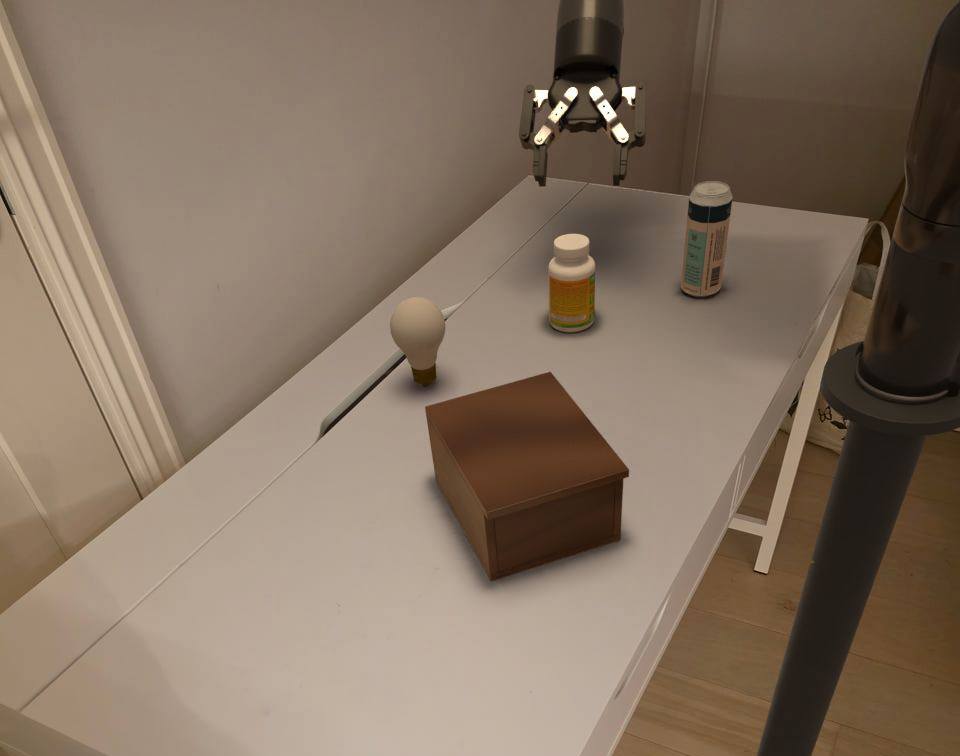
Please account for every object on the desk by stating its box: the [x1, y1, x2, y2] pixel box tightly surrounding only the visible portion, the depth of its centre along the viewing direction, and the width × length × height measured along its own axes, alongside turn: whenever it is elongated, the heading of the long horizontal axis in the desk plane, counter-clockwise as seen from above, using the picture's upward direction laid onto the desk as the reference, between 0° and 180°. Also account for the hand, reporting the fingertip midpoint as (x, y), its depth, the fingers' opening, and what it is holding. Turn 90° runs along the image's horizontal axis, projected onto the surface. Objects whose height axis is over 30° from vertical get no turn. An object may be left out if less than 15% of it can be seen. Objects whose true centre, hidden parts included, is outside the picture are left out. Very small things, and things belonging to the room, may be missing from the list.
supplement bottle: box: [547, 233, 596, 333], centre depth 102 cm, size 5×5×10 cm
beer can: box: [680, 180, 733, 298], centre depth 103 cm, size 5×5×12 cm
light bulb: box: [389, 296, 446, 387], centre depth 95 cm, size 6×6×10 cm
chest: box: [425, 413, 625, 582], centre depth 80 cm, size 16×13×8 cm
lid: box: [424, 371, 630, 520], centre depth 77 cm, size 16×13×1 cm
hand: (578, 183), depth 100 cm, fingers open, 8 cm apart
